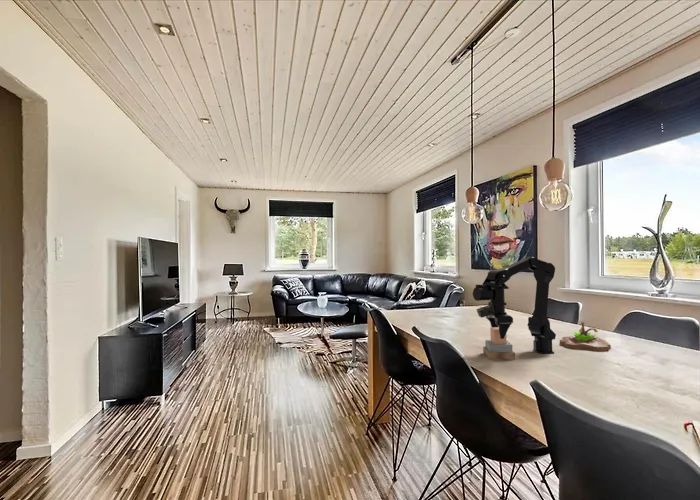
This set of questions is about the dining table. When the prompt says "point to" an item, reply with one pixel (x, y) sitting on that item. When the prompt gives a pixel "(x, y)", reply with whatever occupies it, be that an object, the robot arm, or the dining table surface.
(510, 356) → the tower base
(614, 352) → the dining table surface
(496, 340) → the terracotta block
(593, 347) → the plant
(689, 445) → the dining table surface
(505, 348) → the tower top
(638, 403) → the dining table surface
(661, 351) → the dining table surface
